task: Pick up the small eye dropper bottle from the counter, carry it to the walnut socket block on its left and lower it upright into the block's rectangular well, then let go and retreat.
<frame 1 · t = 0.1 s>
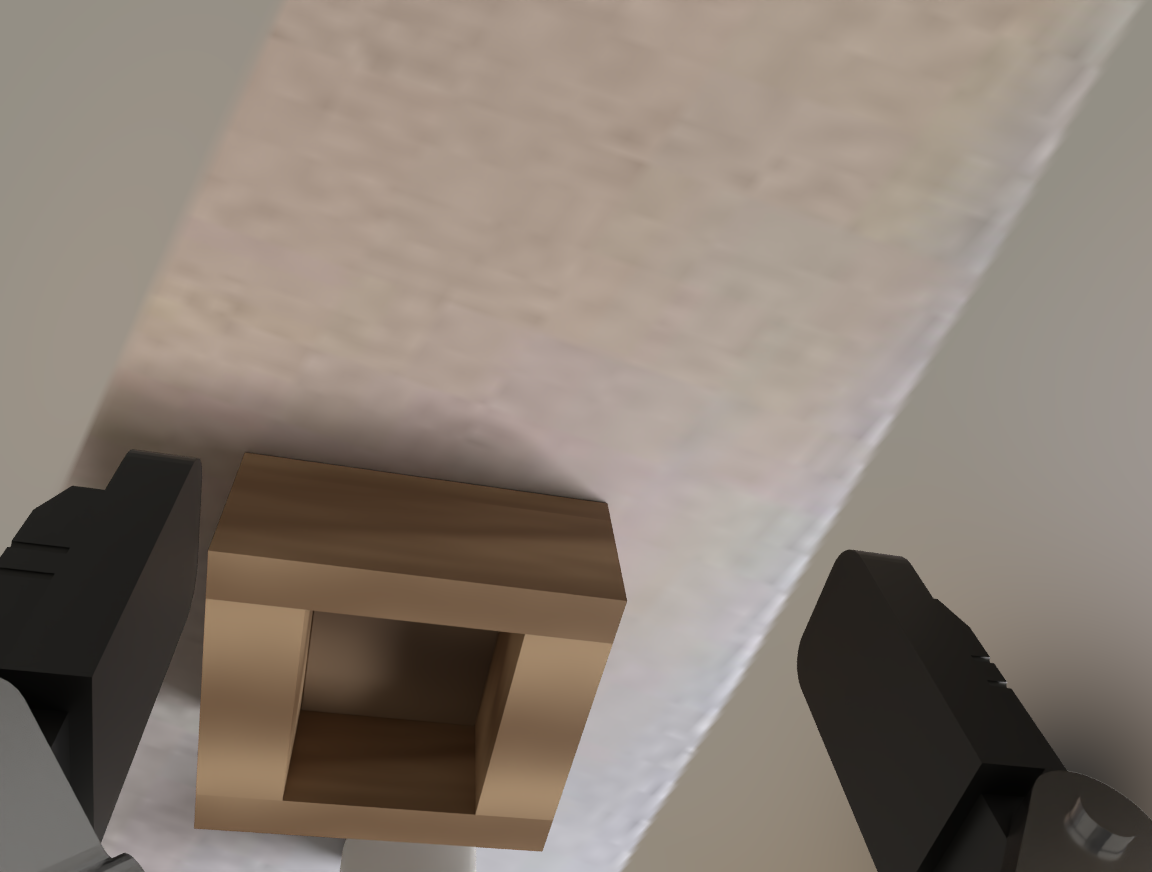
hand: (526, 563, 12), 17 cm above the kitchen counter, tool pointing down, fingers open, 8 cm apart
socket block: (407, 614, 35), on the kitchen counter
eye dropper bottle: (411, 838, 42), on the kitchen counter
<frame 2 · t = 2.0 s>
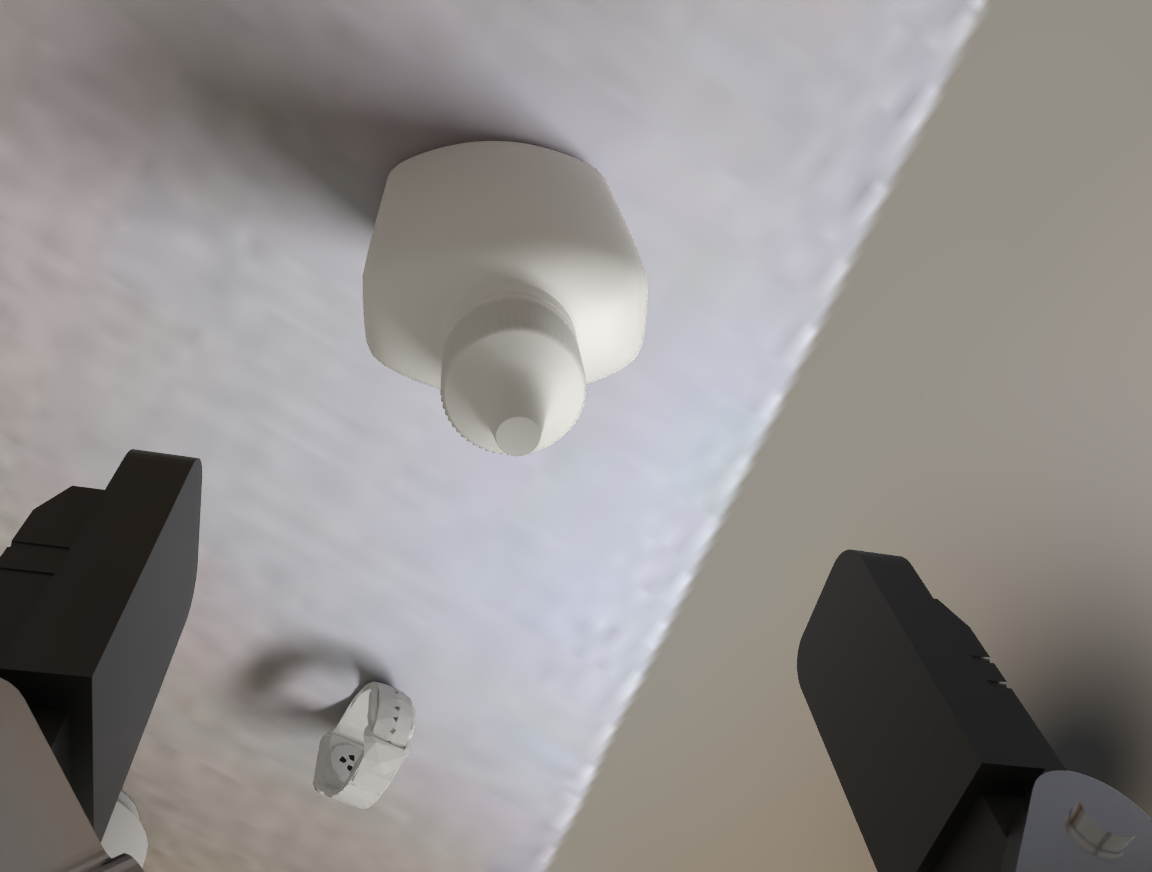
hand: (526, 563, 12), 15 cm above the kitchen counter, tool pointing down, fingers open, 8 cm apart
energy drink can: (69, 812, 35), on the kitchen counter
smartwatch: (372, 697, 33), on the kitchen counter
eye dropper bottle: (497, 203, 25), on the kitchen counter
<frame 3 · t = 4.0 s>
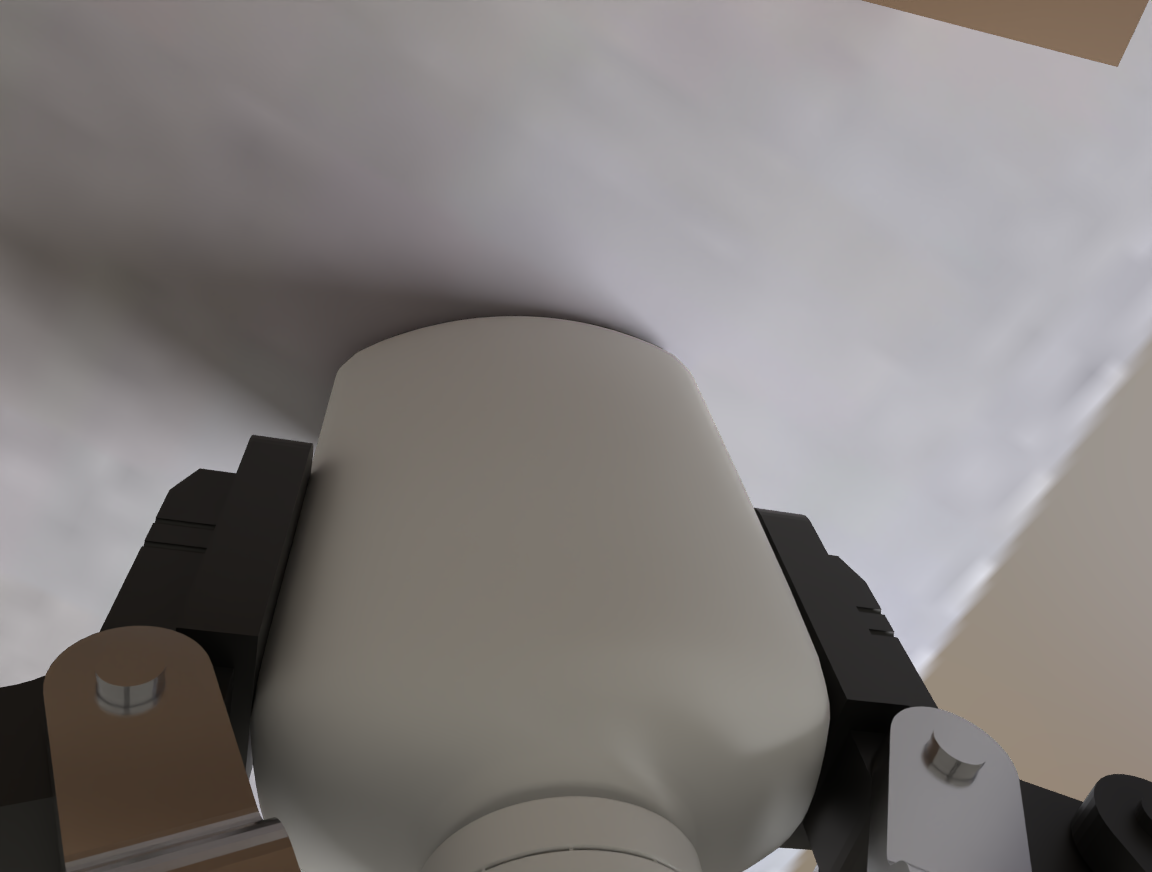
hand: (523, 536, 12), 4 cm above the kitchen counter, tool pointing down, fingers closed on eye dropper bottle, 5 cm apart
eye dropper bottle: (514, 402, 16), on the kitchen counter, touching gripper
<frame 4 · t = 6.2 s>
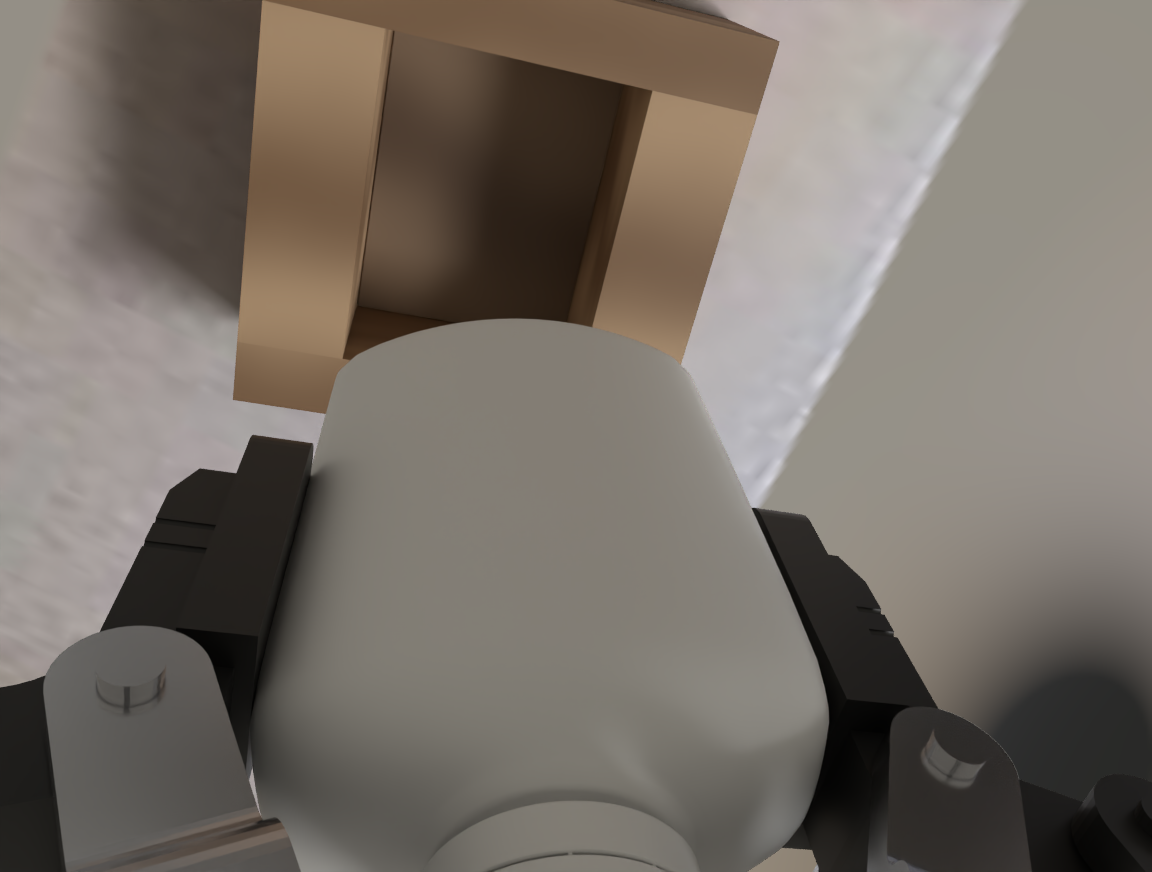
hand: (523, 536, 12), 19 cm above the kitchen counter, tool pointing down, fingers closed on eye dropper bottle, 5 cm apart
socket block: (485, 183, 29), on the kitchen counter
eye dropper bottle: (514, 405, 16), point 15 cm above the kitchen counter, touching gripper
when the fingers open (6 cm above the kitchen counter, at t = 8.8 s): eye dropper bottle drops 1 cm, resting on socket block.
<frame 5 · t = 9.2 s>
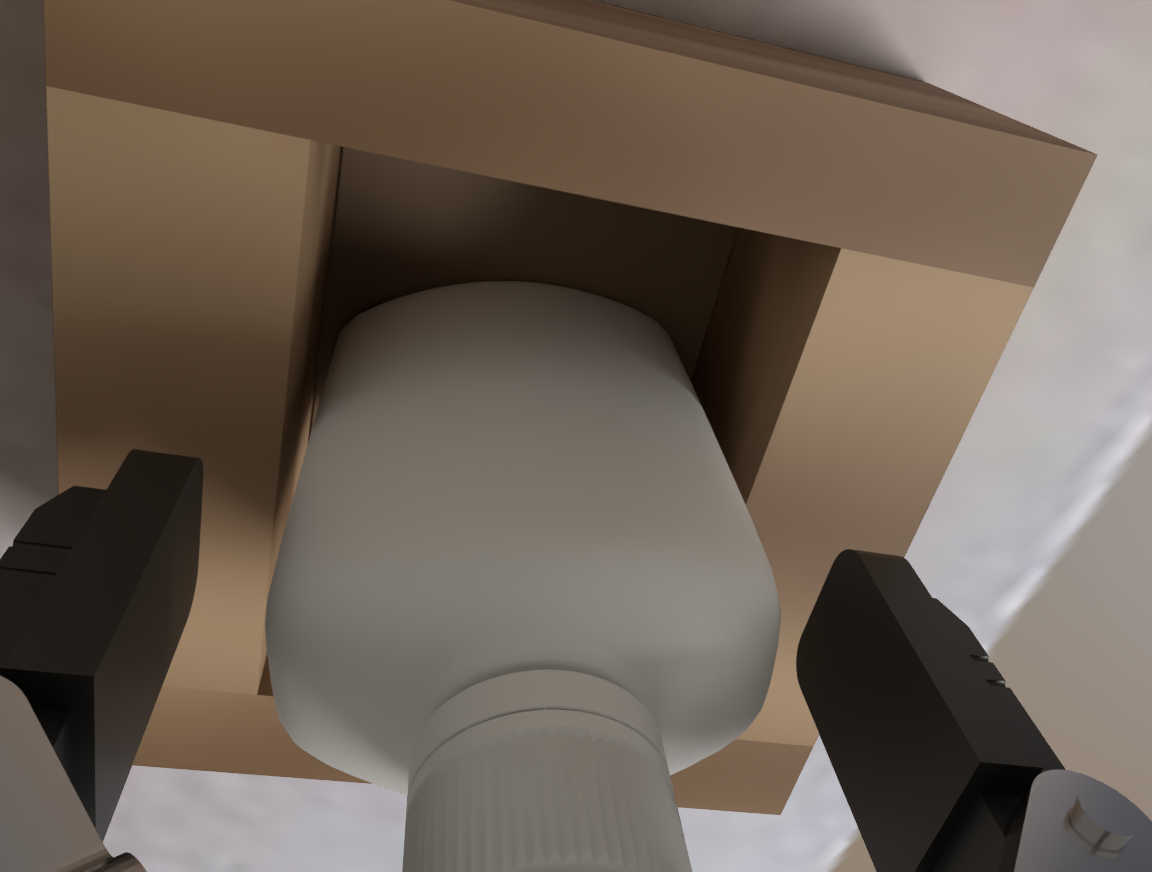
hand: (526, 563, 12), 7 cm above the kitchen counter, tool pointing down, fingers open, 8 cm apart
socket block: (507, 345, 18), on the kitchen counter
eye dropper bottle: (505, 364, 17), point 1 cm above the kitchen counter, touching socket block
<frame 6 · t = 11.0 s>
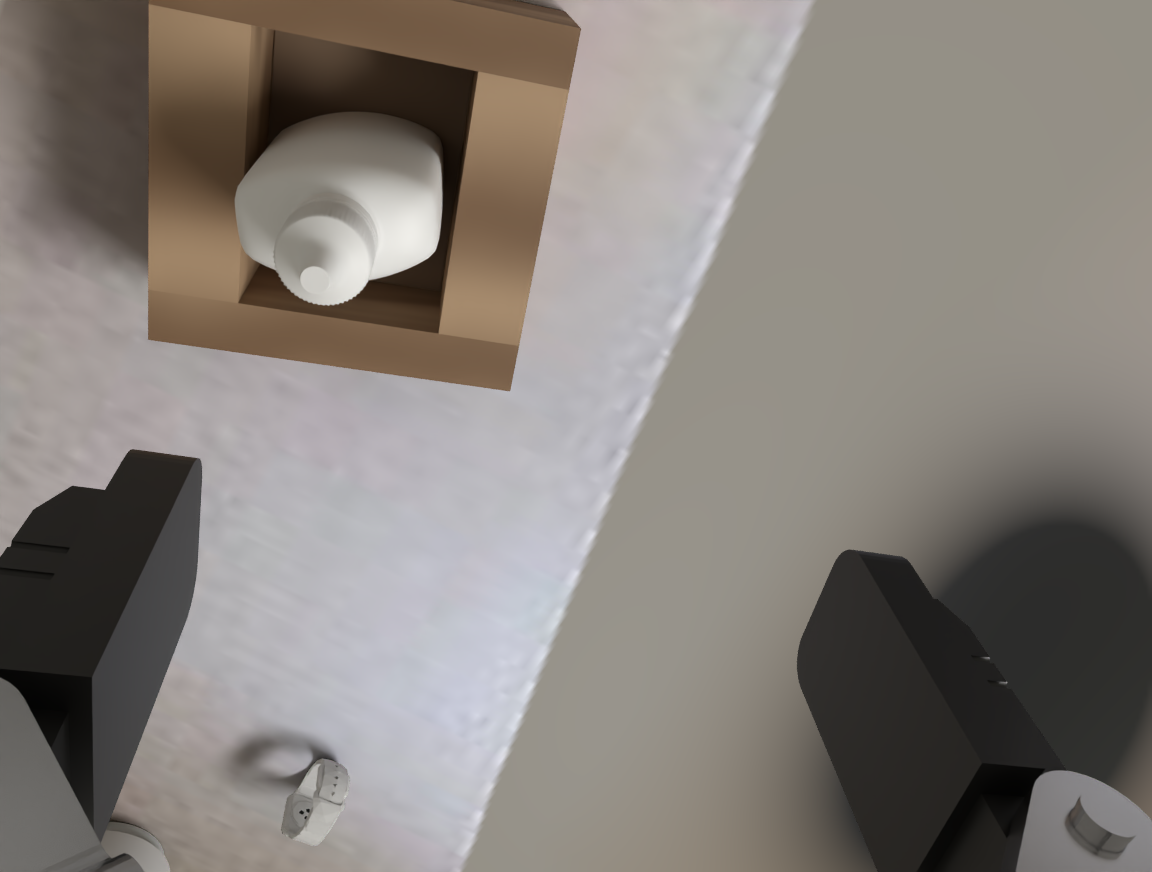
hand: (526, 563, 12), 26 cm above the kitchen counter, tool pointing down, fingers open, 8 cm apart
energy drink can: (115, 850, 50), on the kitchen counter
socket block: (367, 155, 34), on the kitchen counter
smartwatch: (323, 767, 49), on the kitchen counter
eye dropper bottle: (362, 159, 33), point 1 cm above the kitchen counter, touching socket block
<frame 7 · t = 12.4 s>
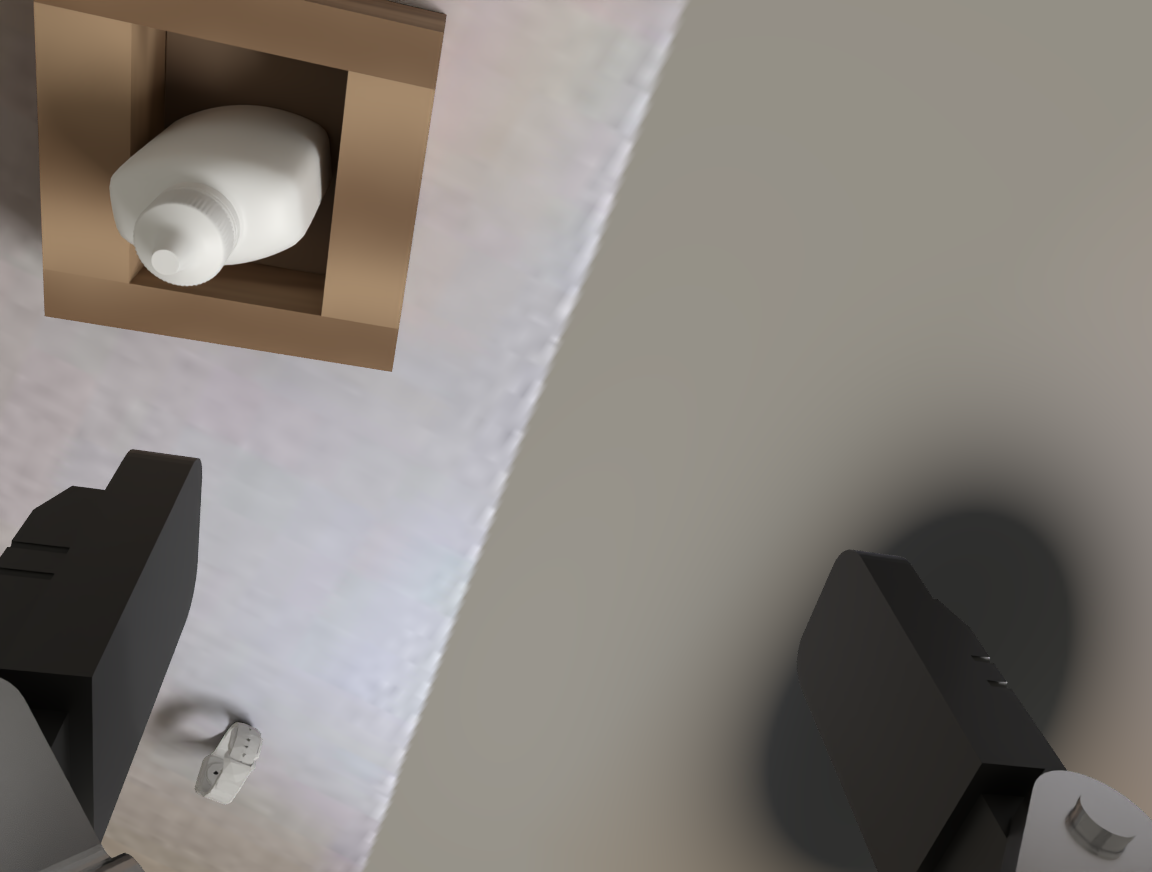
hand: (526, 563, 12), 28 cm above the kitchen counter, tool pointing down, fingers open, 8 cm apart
socket block: (261, 146, 36), on the kitchen counter
smartwatch: (239, 731, 51), on the kitchen counter
eye dropper bottle: (255, 150, 35), point 1 cm above the kitchen counter, touching socket block
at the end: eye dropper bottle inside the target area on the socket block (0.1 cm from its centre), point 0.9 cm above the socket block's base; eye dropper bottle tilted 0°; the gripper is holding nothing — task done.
